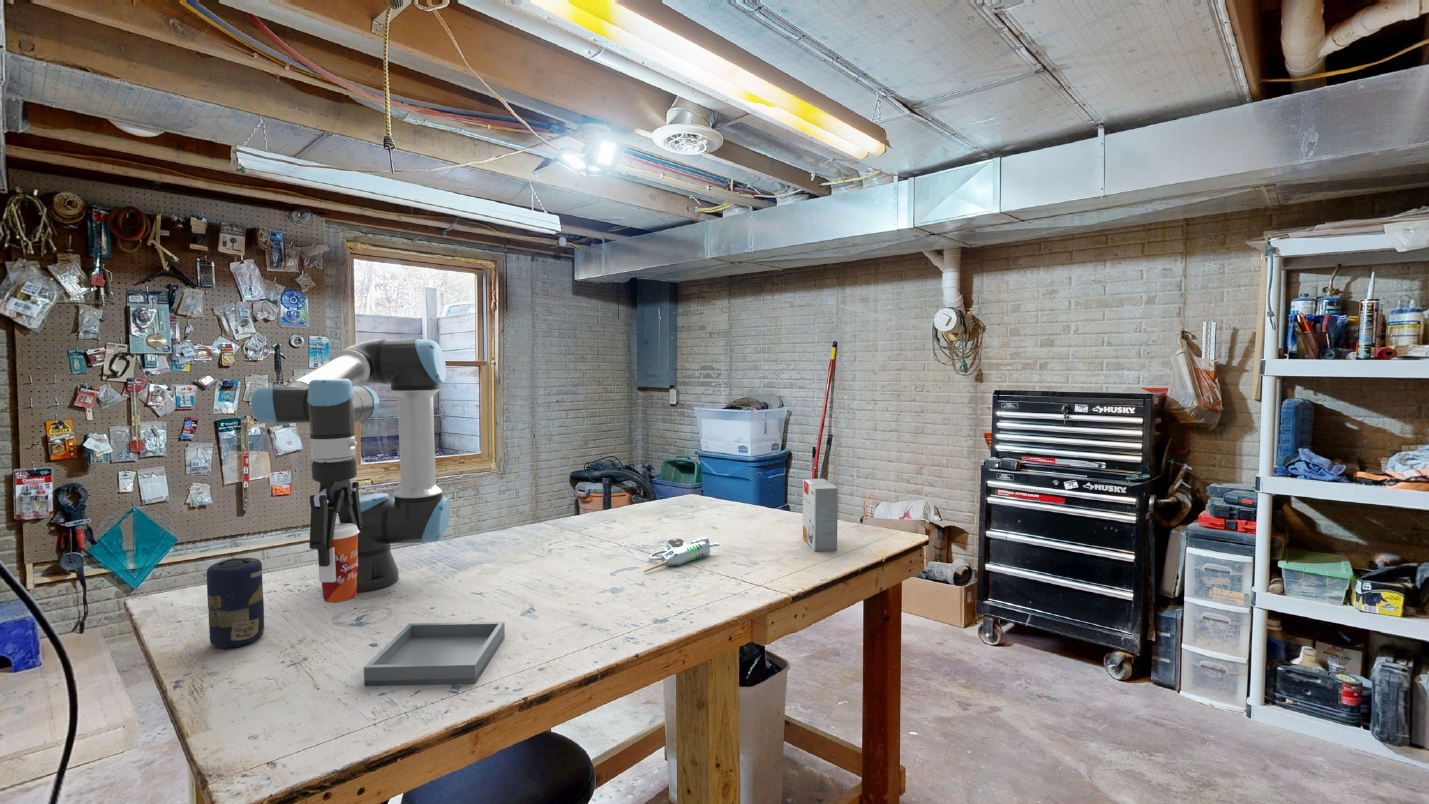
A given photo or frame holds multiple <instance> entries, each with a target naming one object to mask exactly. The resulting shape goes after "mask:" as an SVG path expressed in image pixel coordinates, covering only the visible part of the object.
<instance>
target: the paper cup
mask: <svg viewBox="0 0 1429 804" xmlns="http://www.w3.org/2000/svg"><path fill="white" fill-rule="evenodd" d="M359 532H360V531H359V530H358V529H357V526H356V525H355V524H352V523H340V522H339V523H335V528H334V534H333V540H332V546H331V547H335V567H336V581H335V582H321V589H322V590H321V591H322V596H323V600H324V602H325V603H331V604H335V603H344V602H347V601H350V600H352V599H354V598H355V597H356V596H357V592H356V591H357V553H358V533H359Z"/></svg>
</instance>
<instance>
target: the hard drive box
mask: <svg viewBox="0 0 1429 804" xmlns="http://www.w3.org/2000/svg"><path fill="white" fill-rule="evenodd" d="M838 491H839V488H838V487H836V486H835V485H834V484H832V483H830V482H829V481H828V480H827V479H825V478H804V479H802V538H803V539H804V541H805V542H806V543H807V544H808V545H809V546H810V548H811V549H812V550H813V551H814V552H828V551H829V552H831V551H832V552H833V551H835V552H836V551H838V504H839V502H838V501H839V500H838V496H839V495H838V494H839V493H838Z"/></svg>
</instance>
